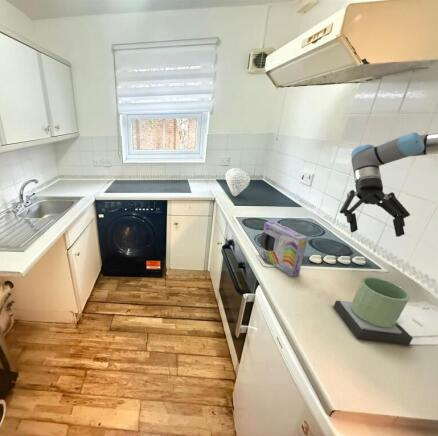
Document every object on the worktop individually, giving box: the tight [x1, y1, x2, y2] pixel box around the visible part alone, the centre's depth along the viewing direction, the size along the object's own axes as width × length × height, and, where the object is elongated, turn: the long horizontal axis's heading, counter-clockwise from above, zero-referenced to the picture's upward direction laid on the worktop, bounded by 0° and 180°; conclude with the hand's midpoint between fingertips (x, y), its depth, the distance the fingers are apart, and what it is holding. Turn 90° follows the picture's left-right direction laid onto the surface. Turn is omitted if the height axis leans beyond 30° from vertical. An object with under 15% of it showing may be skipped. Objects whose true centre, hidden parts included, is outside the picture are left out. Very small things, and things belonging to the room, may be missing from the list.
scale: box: [333, 300, 414, 347], centre depth 74 cm, size 13×13×4 cm
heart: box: [224, 167, 251, 197], centre depth 194 cm, size 28×16×22 cm, turn 175°
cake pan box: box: [259, 220, 308, 277], centre depth 102 cm, size 19×5×18 cm, turn 18°
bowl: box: [351, 276, 411, 327], centre depth 71 cm, size 10×10×10 cm
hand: (376, 233), depth 84 cm, fingers open, 13 cm apart
